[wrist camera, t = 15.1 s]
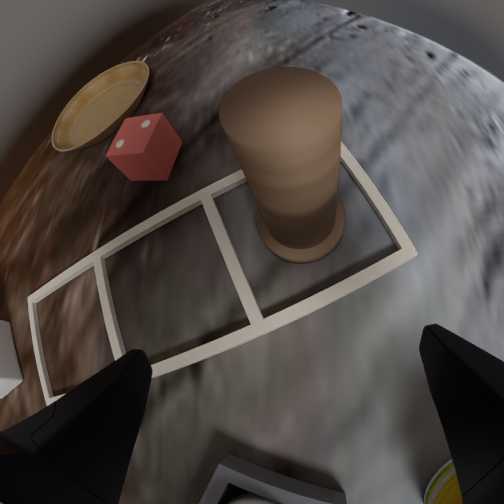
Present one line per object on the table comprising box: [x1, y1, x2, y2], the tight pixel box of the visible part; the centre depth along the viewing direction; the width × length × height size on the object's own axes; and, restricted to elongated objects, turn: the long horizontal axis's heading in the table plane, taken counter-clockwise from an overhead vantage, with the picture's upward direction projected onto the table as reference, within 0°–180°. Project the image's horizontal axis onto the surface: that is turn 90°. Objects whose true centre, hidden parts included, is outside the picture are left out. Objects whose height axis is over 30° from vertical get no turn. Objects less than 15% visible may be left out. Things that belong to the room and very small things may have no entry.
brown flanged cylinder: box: [219, 67, 345, 264], centre depth 14 cm, size 6×6×10 cm
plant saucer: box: [52, 61, 149, 151], centre depth 28 cm, size 15×15×3 cm
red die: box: [106, 113, 182, 181], centre depth 22 cm, size 4×4×4 cm
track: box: [28, 142, 418, 406], centre depth 19 cm, size 32×11×1 cm, turn 113°
